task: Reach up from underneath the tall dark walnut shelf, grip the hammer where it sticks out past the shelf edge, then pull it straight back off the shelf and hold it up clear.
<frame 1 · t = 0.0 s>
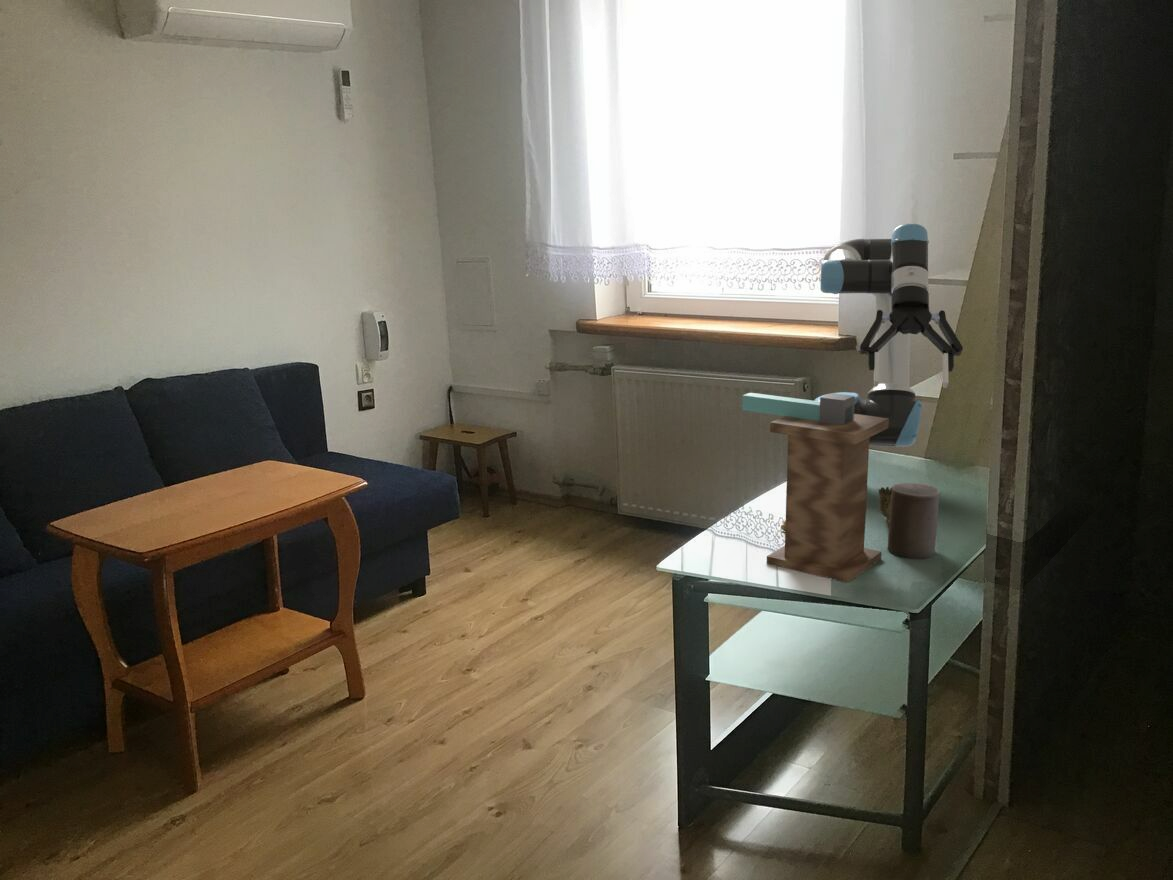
hand: (910, 384, 214), 36 cm above the table, tool tilted 35°, fingers open, 13 cm apart
cat figure: (819, 521, 244), on the table
pillar candle: (911, 551, 223), on the table
shelf stand: (824, 561, 218), on the table
hammer: (795, 415, 215), point 30 cm above the table, touching shelf stand
cup: (893, 525, 239), on the table
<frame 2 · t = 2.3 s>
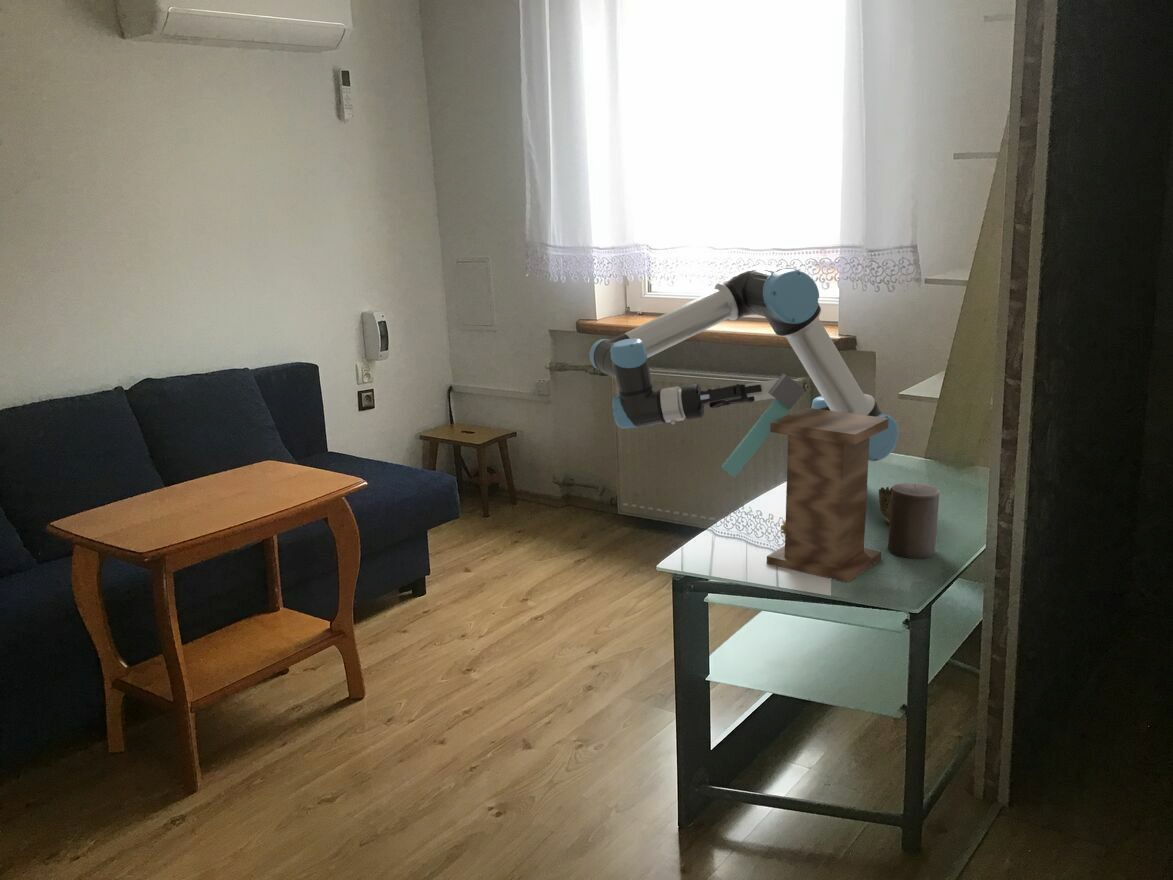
hand: (780, 388, 225), 33 cm above the table, tool horizontal, fingers open, 13 cm apart
hammer: (768, 433, 216), point 26 cm above the table, tilted 52°
everything else where it was.
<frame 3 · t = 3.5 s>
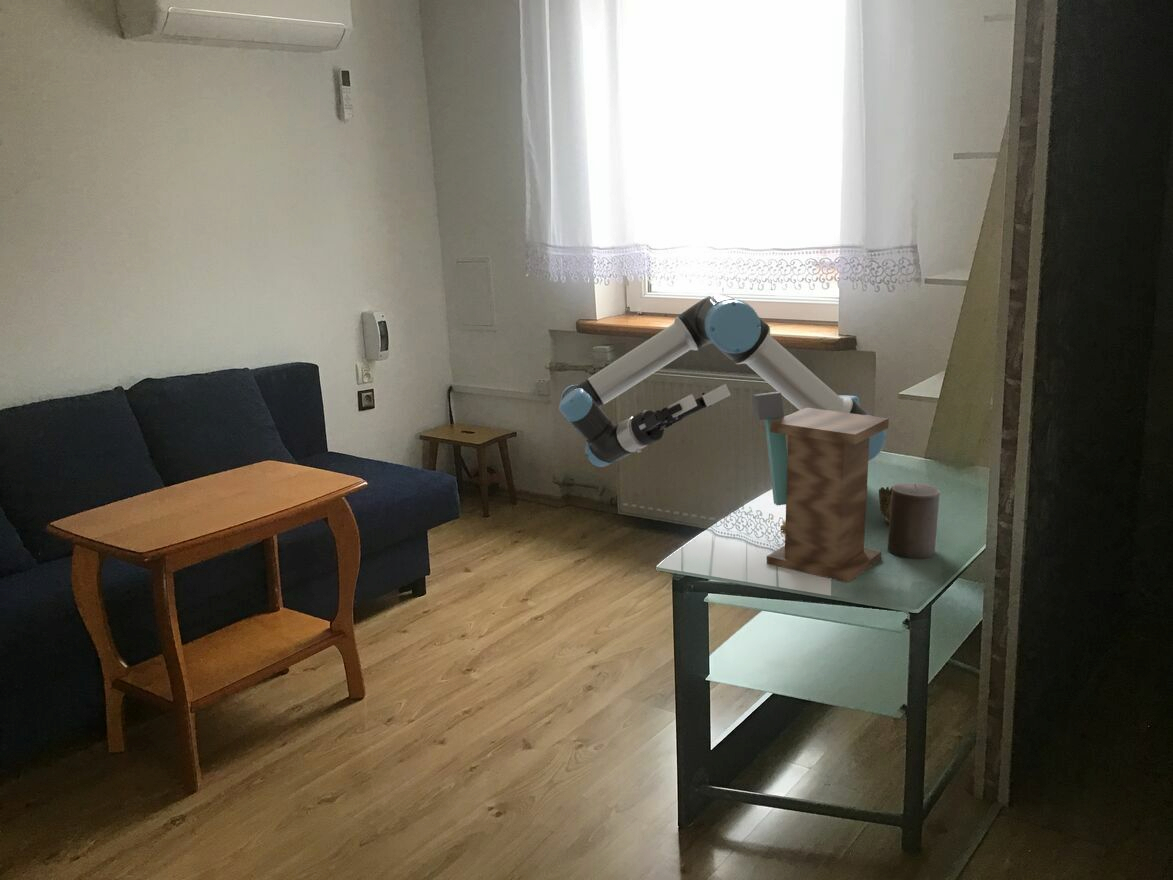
hand: (711, 394, 226), 32 cm above the table, tool pointing upward, fingers open, 13 cm apart
hammer: (784, 447, 217), point 23 cm above the table, tilted 96°, touching shelf stand
everything else where it was.
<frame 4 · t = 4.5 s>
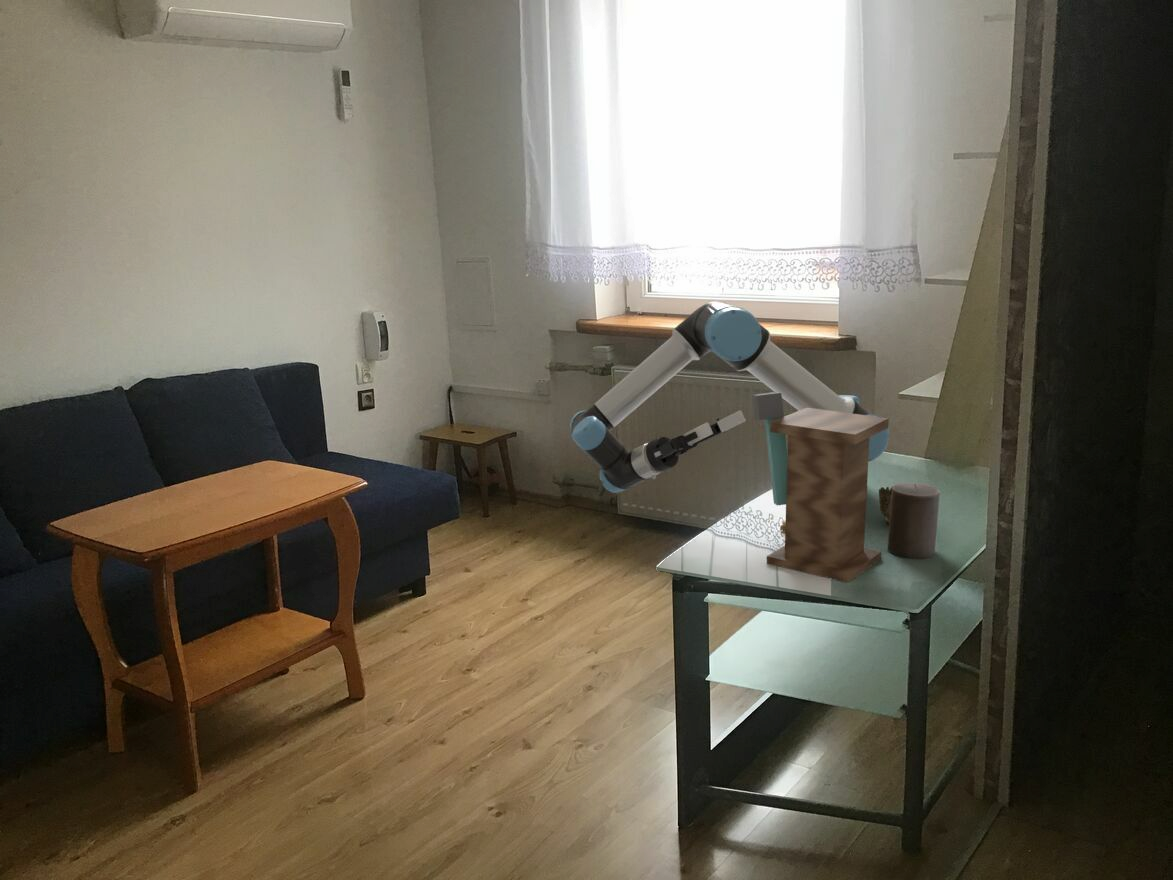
hand: (726, 421, 225), 27 cm above the table, tool pointing upward, fingers open, 13 cm apart
nothing on the table moved.
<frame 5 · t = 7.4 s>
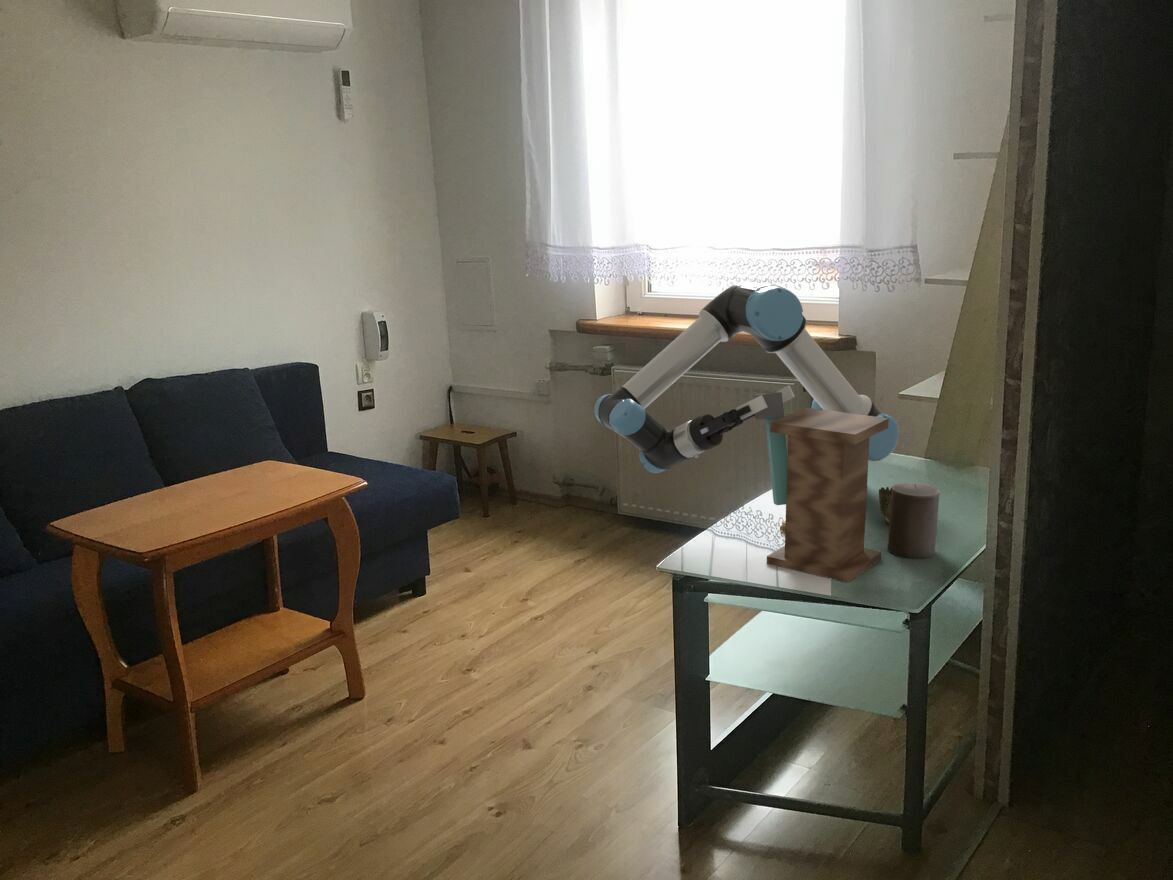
hand: (778, 396, 216), 34 cm above the table, tool pointing upward, fingers open, 11 cm apart
hammer: (784, 447, 217), point 23 cm above the table, tilted 95°, touching gripper
everything else where it was.
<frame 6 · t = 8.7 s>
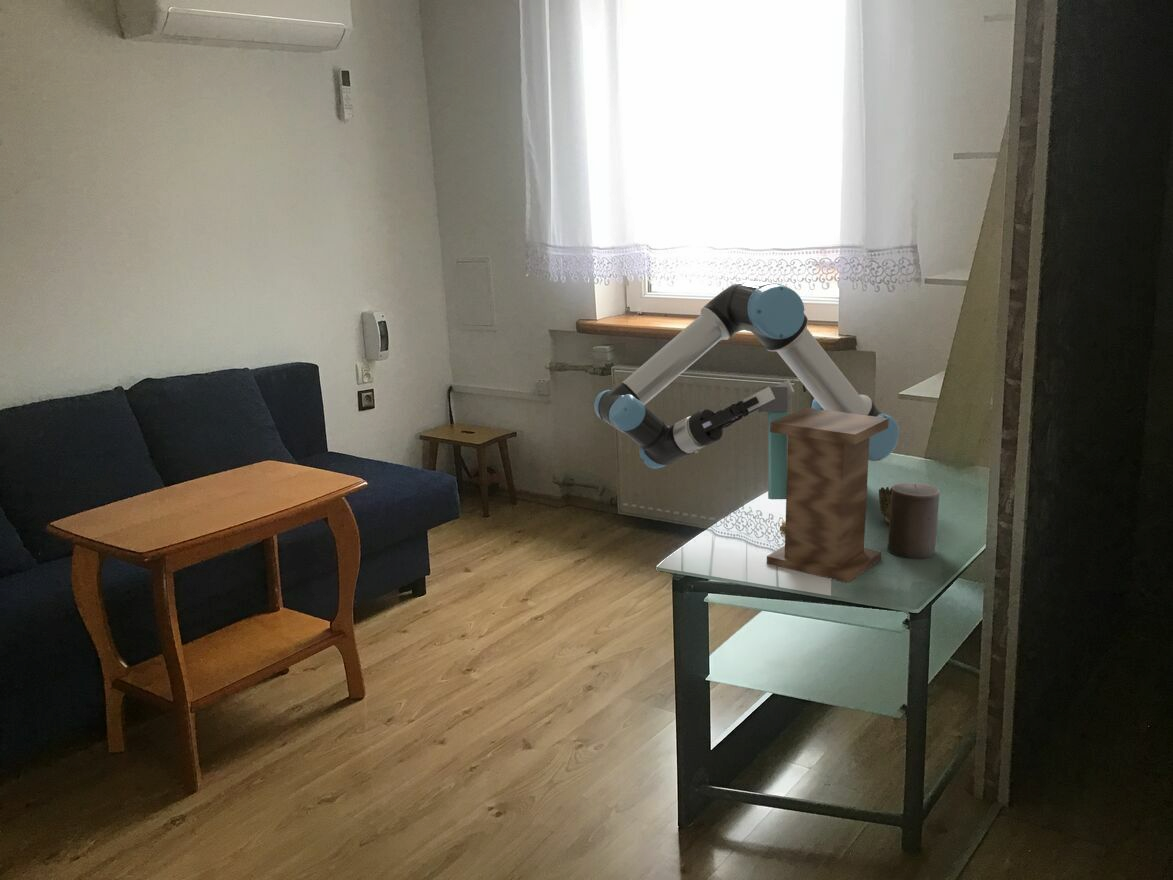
hand: (781, 389, 215), 35 cm above the table, tool pointing upward, fingers closed on hammer, 8 cm apart
hammer: (785, 443, 217), point 24 cm above the table, tilted 89°, touching gripper
everything else where it was.
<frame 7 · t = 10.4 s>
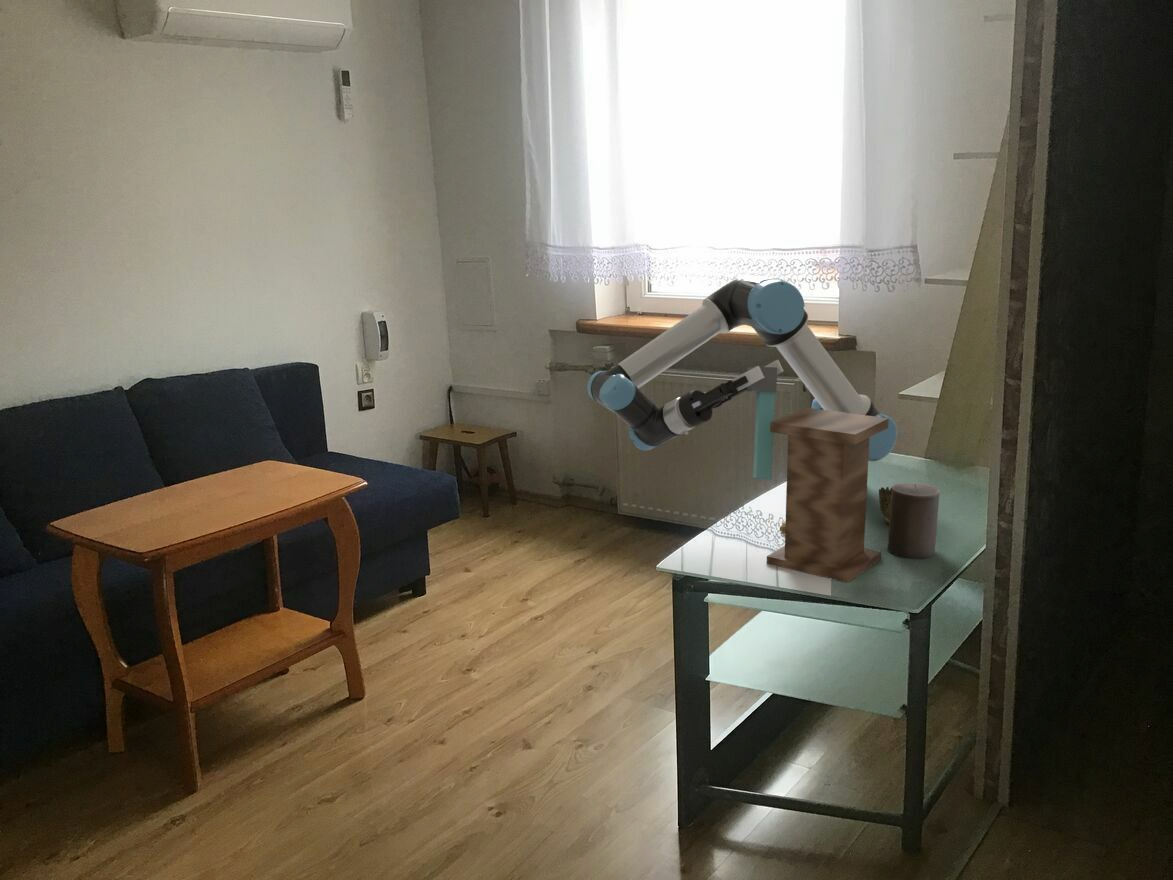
hand: (770, 368, 216), 39 cm above the table, tool pointing upward, fingers closed on hammer, 8 cm apart
hammer: (772, 423, 218), point 28 cm above the table, tilted 86°, touching gripper
everything else where it was.
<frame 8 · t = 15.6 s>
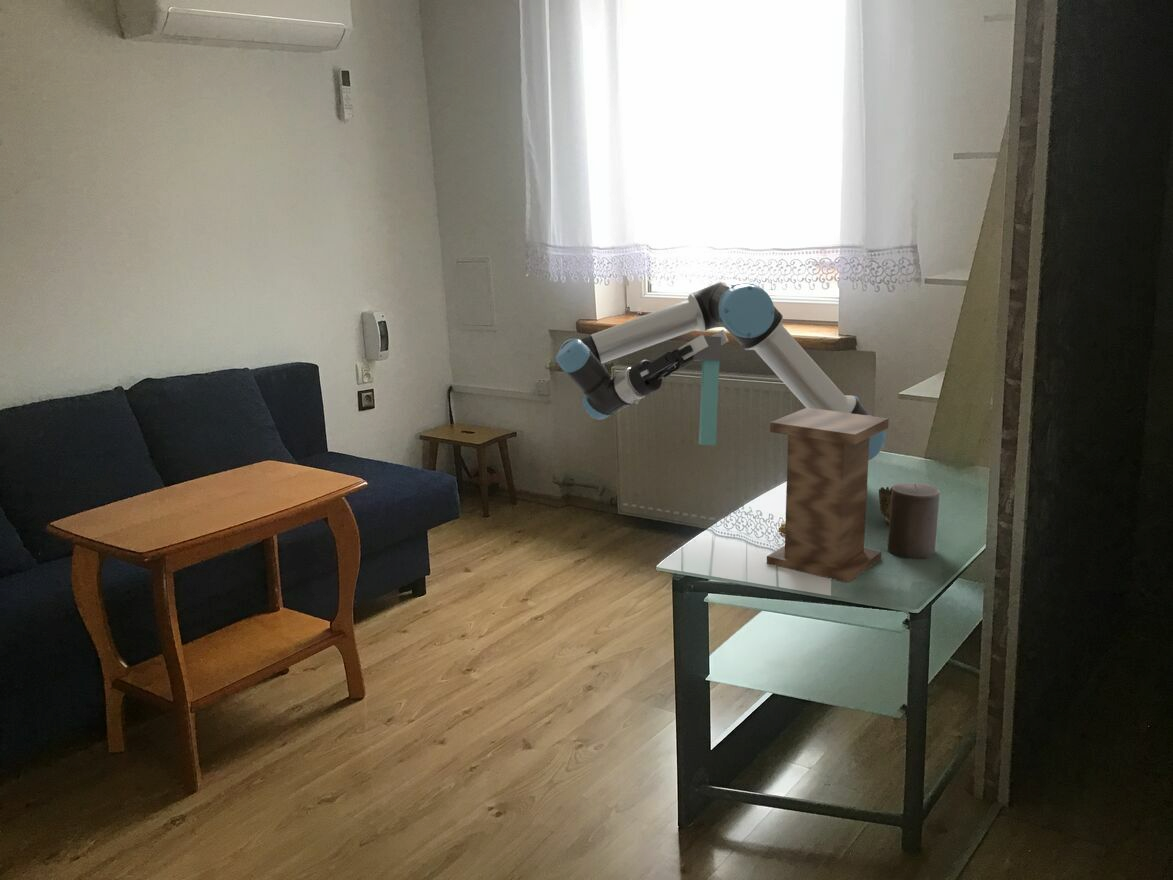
hand: (715, 338, 223), 44 cm above the table, tool pointing upward, fingers closed on hammer, 8 cm apart
hammer: (716, 391, 225), point 33 cm above the table, tilted 86°, touching gripper
at the end: the gripper is holding hammer; hammer touching gripper; hammer moved 18.7 cm from its start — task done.
